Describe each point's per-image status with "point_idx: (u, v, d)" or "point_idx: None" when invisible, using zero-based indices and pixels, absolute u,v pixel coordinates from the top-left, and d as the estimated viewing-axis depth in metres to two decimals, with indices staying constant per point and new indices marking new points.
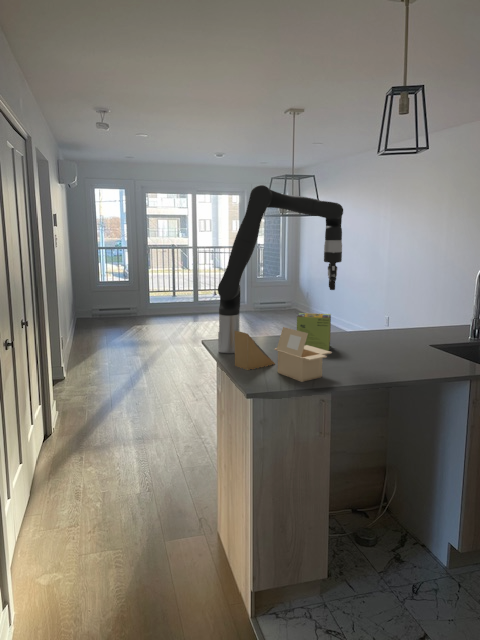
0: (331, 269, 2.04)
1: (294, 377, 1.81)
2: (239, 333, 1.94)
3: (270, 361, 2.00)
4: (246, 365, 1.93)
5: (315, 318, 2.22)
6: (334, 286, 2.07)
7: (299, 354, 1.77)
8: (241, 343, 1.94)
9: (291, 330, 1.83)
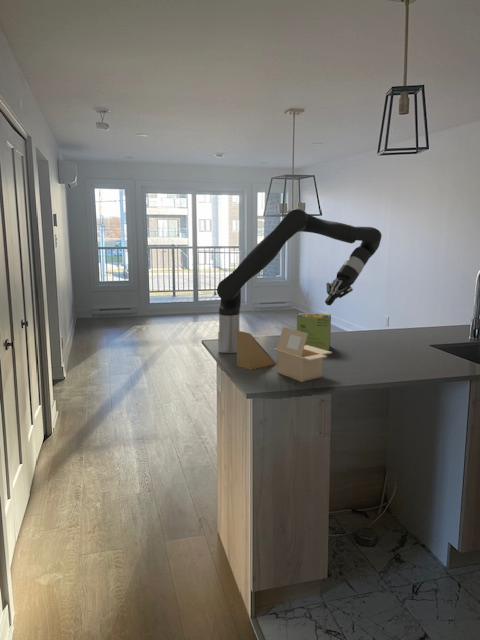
0: (347, 288, 1.87)
1: (294, 377, 1.81)
2: (241, 333, 1.94)
3: (272, 361, 2.00)
4: (248, 365, 1.93)
5: (315, 318, 2.22)
6: (331, 302, 1.90)
7: (299, 354, 1.77)
8: (244, 343, 1.94)
9: (291, 330, 1.83)
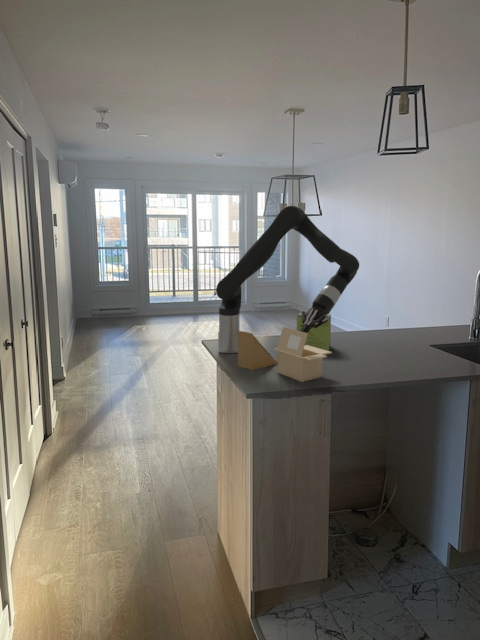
0: (322, 319, 1.82)
1: (294, 377, 1.81)
2: (243, 333, 1.94)
3: (273, 360, 2.01)
4: (250, 365, 1.93)
5: None
6: (306, 332, 1.85)
7: (299, 354, 1.77)
8: (245, 343, 1.94)
9: (291, 330, 1.83)
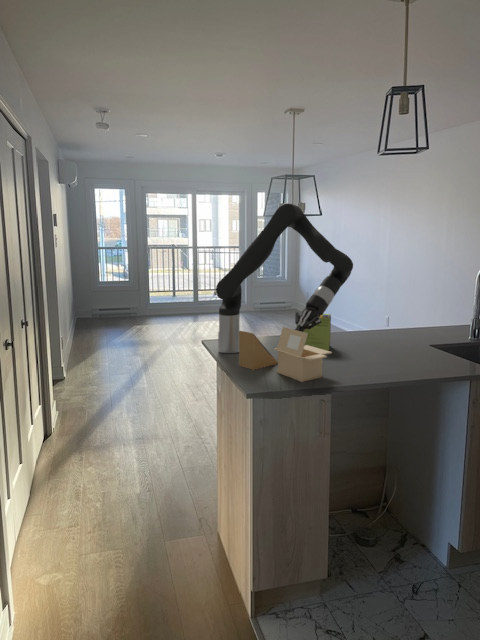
0: (315, 320, 1.80)
1: (294, 377, 1.81)
2: (244, 333, 1.94)
3: (274, 360, 2.01)
4: (252, 365, 1.93)
5: None
6: None
7: (299, 354, 1.77)
8: (247, 343, 1.94)
9: (291, 330, 1.83)
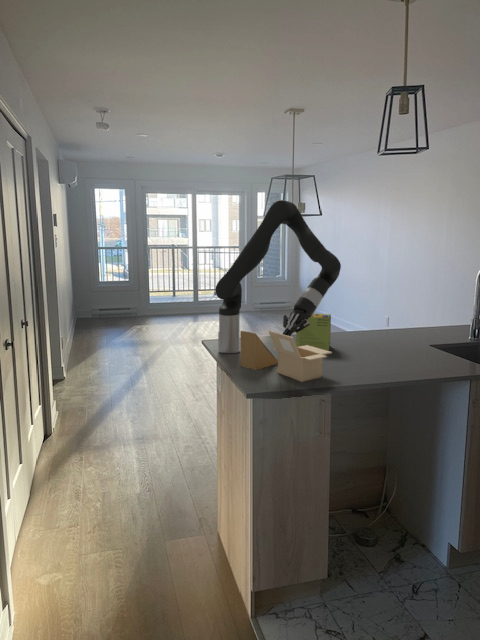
0: (303, 323, 1.76)
1: (294, 377, 1.81)
2: (246, 333, 1.94)
3: (275, 360, 2.01)
4: (254, 365, 1.93)
5: (315, 318, 2.22)
6: None
7: (298, 355, 1.76)
8: (248, 343, 1.94)
9: (277, 334, 1.79)
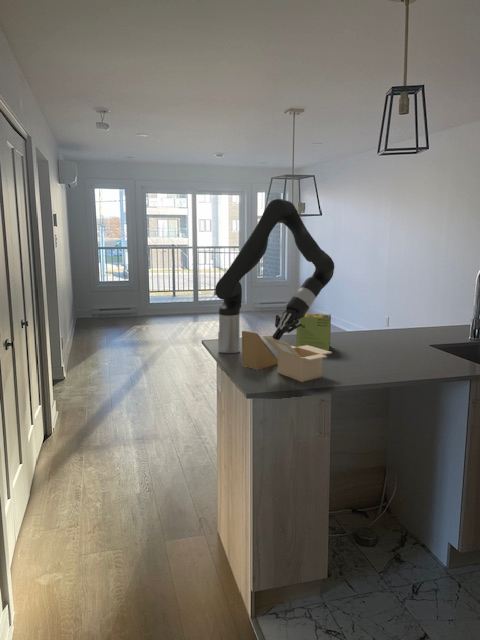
0: (295, 323, 1.74)
1: (294, 377, 1.81)
2: (247, 333, 1.94)
3: (276, 360, 2.02)
4: (255, 365, 1.93)
5: (315, 318, 2.22)
6: None
7: (297, 356, 1.76)
8: (250, 343, 1.94)
9: (272, 340, 1.79)
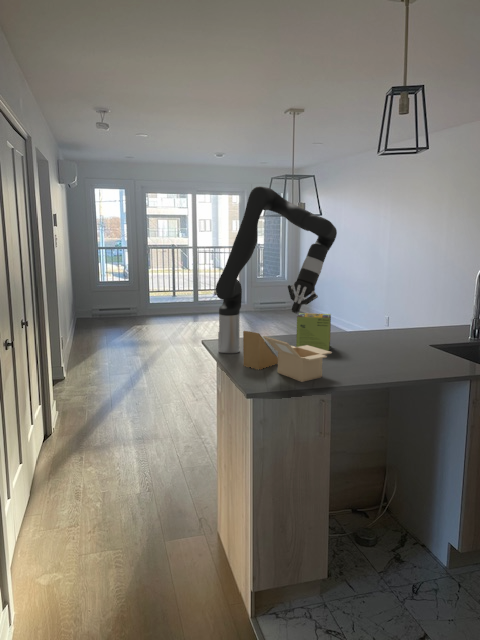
0: (313, 297, 1.86)
1: (294, 377, 1.81)
2: (249, 333, 1.94)
3: (277, 360, 2.02)
4: (257, 365, 1.94)
5: (315, 318, 2.22)
6: None
7: (297, 356, 1.76)
8: (252, 343, 1.94)
9: (272, 340, 1.79)
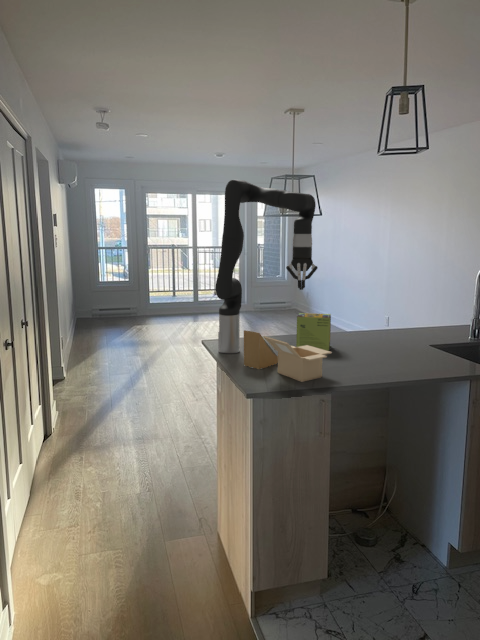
0: (315, 270, 1.93)
1: (294, 377, 1.81)
2: (249, 332, 1.95)
3: None
4: (257, 364, 1.94)
5: (315, 318, 2.22)
6: None
7: (297, 356, 1.76)
8: (252, 343, 1.95)
9: (272, 340, 1.79)
